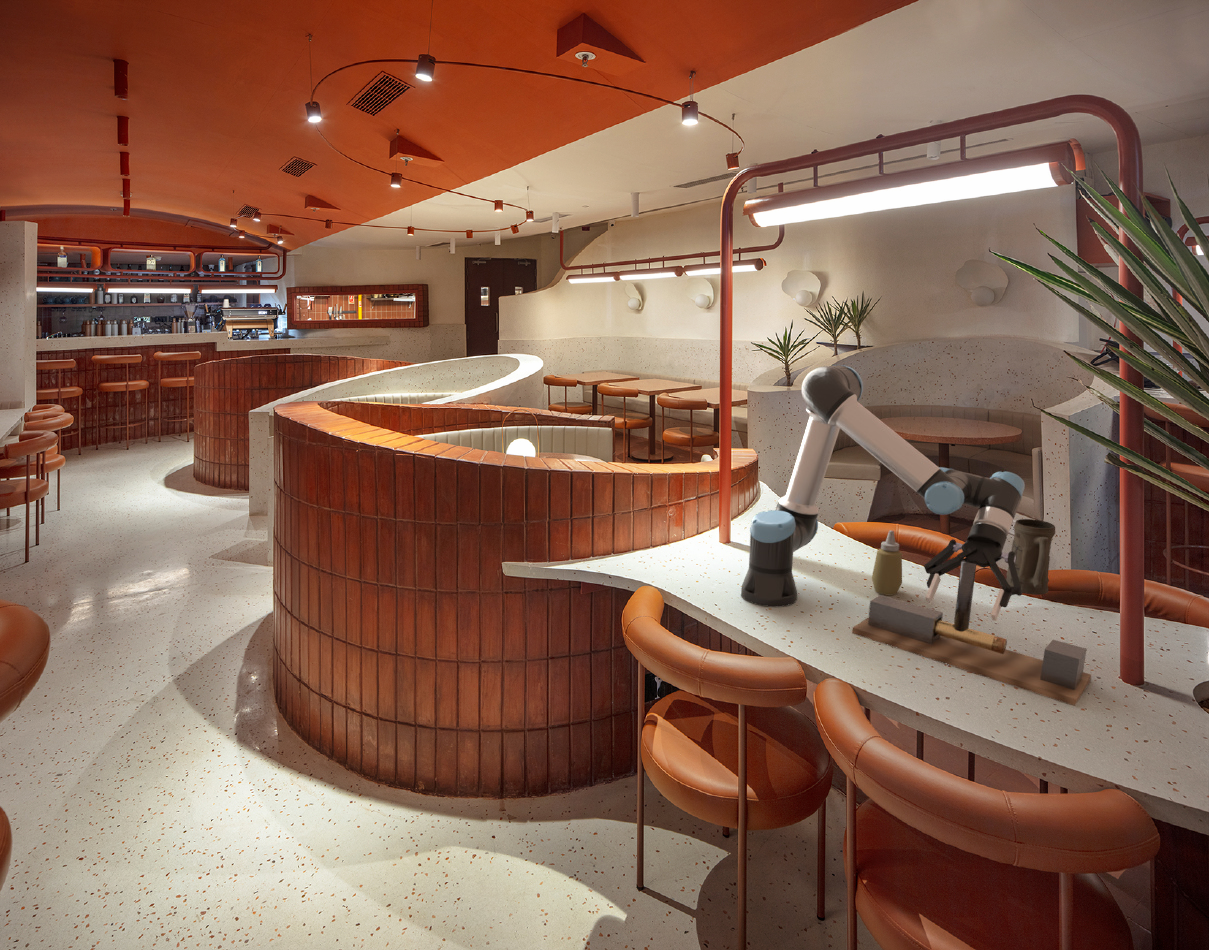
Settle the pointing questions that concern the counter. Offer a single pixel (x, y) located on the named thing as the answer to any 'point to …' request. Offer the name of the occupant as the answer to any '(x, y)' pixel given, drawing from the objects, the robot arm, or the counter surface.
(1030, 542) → the beer stein
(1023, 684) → the base board
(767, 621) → the counter surface
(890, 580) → the squeeze bottle
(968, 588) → the sliding bolt
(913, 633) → the outer sleeve
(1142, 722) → the counter surface
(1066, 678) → the socket
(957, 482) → the robot arm
